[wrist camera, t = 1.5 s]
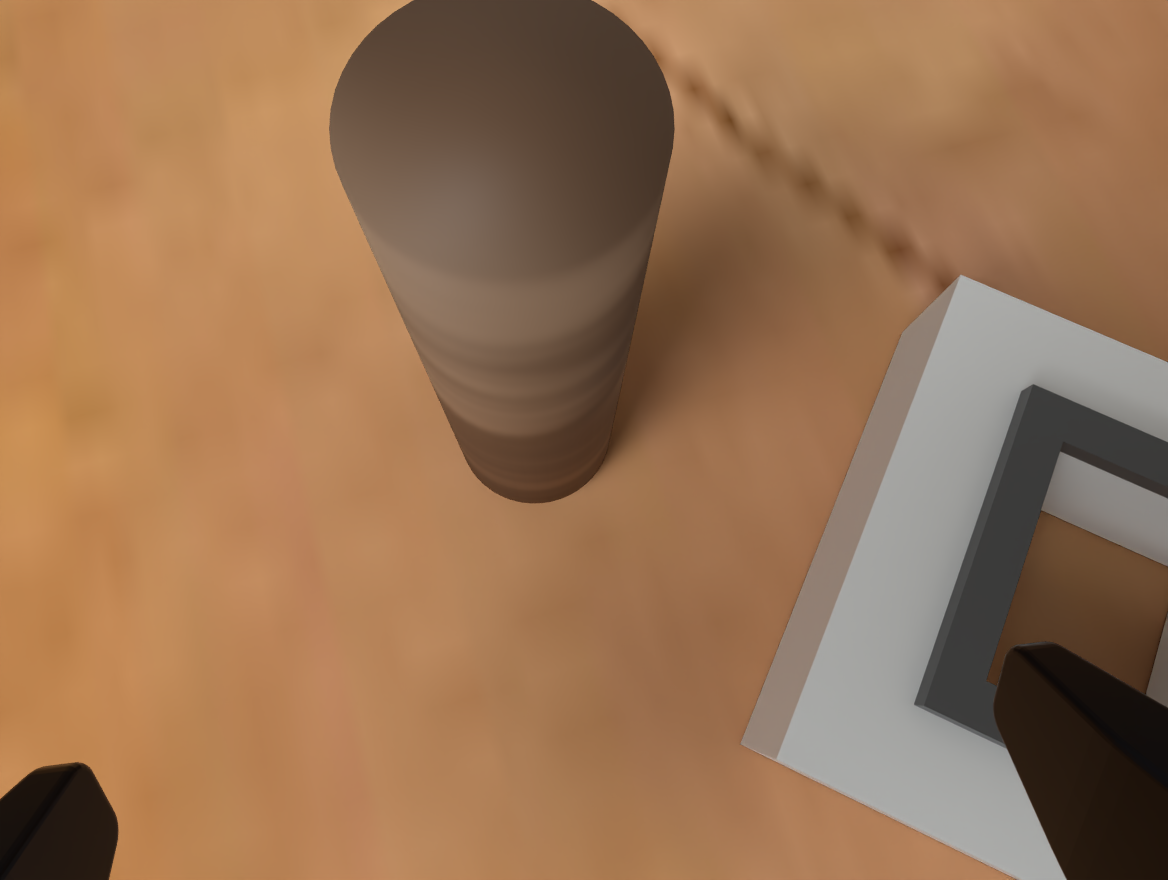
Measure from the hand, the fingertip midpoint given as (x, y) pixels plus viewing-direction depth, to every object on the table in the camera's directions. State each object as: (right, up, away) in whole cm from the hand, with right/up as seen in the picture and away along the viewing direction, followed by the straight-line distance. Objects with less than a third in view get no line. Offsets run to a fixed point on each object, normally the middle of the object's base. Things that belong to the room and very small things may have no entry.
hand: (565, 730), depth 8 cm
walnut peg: (-1, +3, +14) cm, 14 cm away
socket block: (+12, -2, +13) cm, 18 cm away
